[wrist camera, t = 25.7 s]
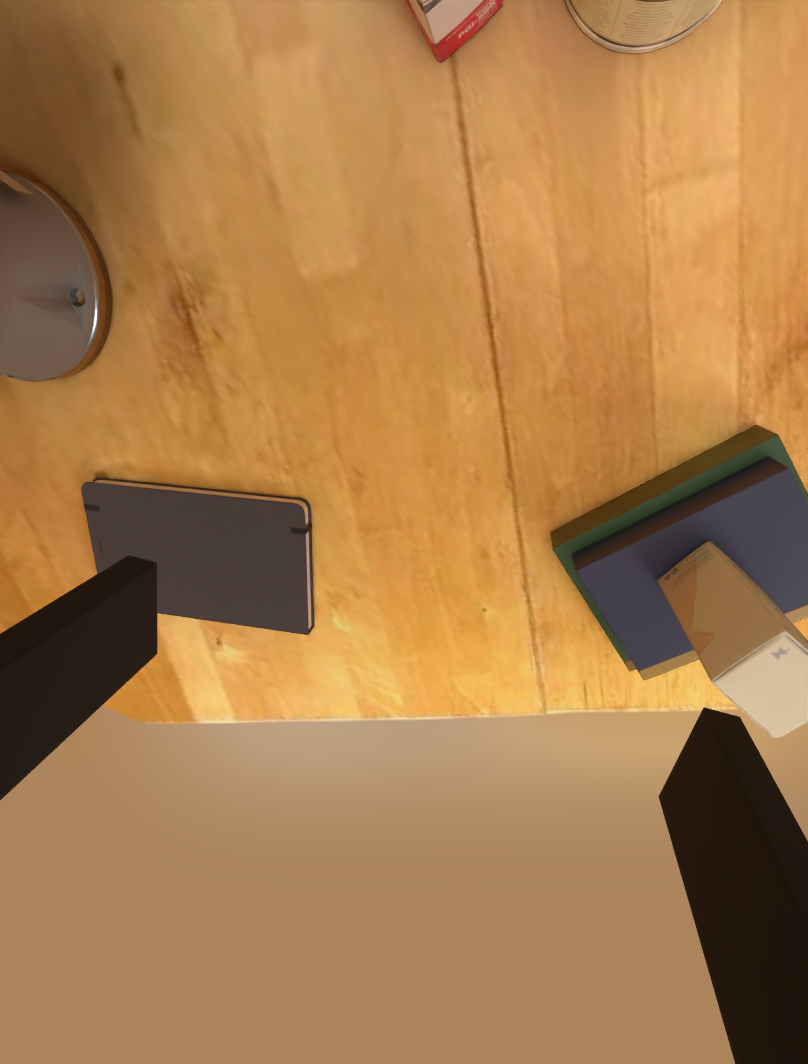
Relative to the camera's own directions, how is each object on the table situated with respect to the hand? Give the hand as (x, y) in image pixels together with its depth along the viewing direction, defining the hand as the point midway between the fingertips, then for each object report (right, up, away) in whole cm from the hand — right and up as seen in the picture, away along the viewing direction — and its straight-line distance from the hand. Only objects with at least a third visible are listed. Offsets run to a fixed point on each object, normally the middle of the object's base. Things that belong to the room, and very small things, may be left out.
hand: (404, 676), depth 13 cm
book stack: (+22, +2, +29) cm, 36 cm away
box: (+20, 0, +23) cm, 31 cm away
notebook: (-19, +2, +38) cm, 43 cm away
